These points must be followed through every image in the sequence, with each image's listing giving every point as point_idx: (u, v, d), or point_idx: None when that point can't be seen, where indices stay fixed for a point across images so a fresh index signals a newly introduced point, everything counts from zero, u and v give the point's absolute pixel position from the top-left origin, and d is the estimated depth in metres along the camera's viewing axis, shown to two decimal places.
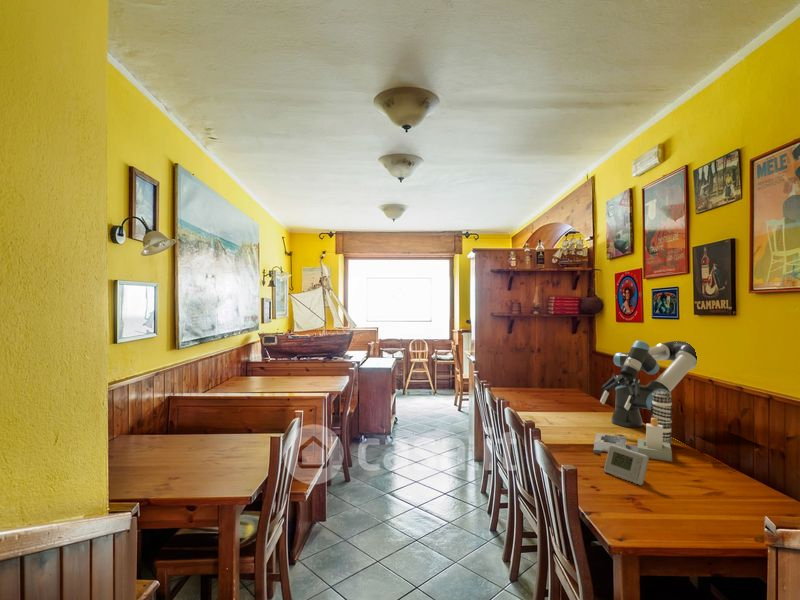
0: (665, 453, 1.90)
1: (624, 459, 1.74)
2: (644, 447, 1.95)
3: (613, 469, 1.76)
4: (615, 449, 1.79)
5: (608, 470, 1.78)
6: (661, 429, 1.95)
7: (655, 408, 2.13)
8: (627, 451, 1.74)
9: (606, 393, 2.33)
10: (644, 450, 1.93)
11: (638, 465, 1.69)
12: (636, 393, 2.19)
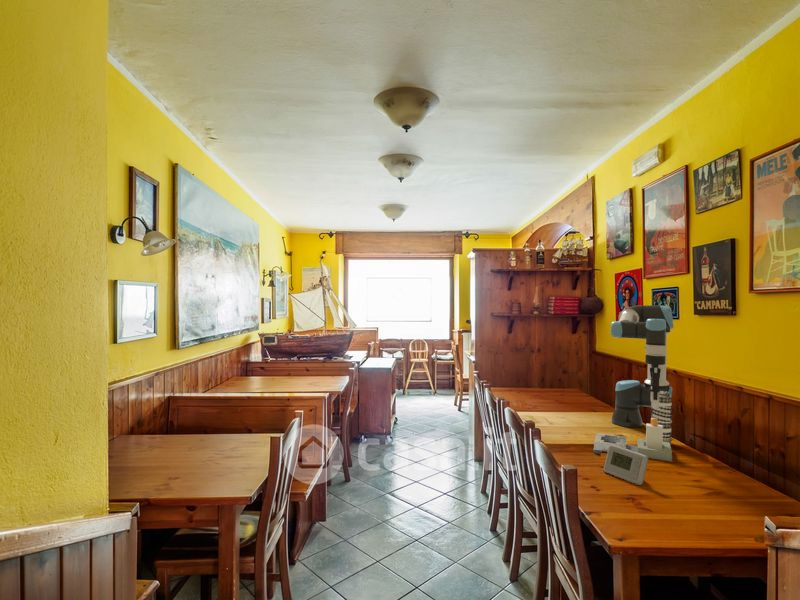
0: (665, 453, 1.90)
1: (624, 459, 1.74)
2: (644, 447, 1.95)
3: (613, 469, 1.76)
4: (614, 449, 1.79)
5: (608, 470, 1.78)
6: (661, 429, 1.95)
7: (655, 408, 2.13)
8: (627, 451, 1.74)
9: None
10: (644, 450, 1.93)
11: (637, 465, 1.69)
12: (652, 388, 1.91)
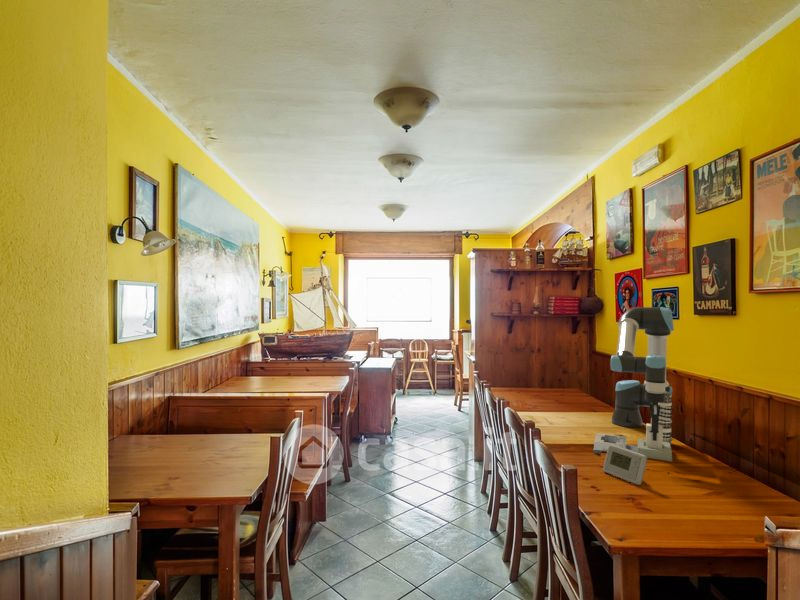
0: (665, 453, 1.90)
1: (623, 459, 1.74)
2: (644, 447, 1.95)
3: (612, 469, 1.76)
4: (614, 449, 1.79)
5: (607, 470, 1.78)
6: (661, 429, 1.95)
7: None
8: (626, 451, 1.74)
9: None
10: (644, 450, 1.93)
11: (636, 465, 1.69)
12: (651, 429, 1.94)
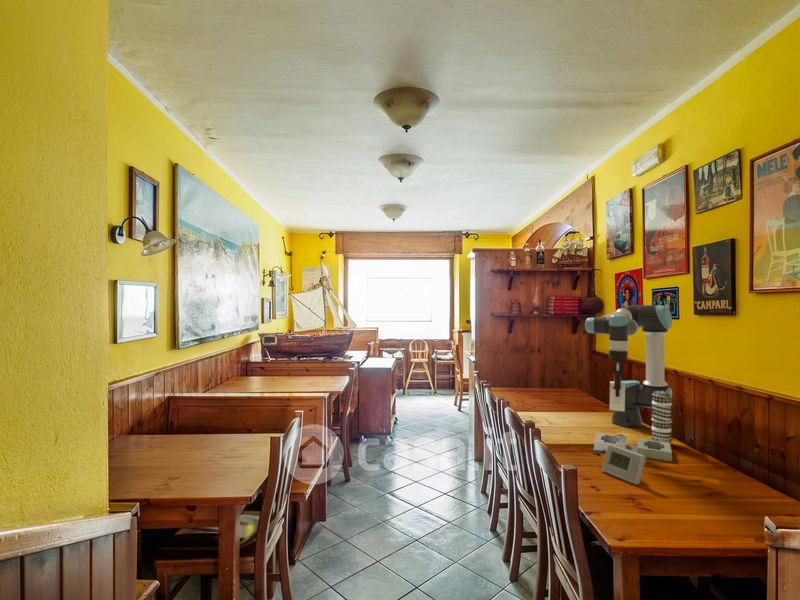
0: (665, 453, 1.90)
1: (622, 458, 1.75)
2: (644, 447, 1.95)
3: (611, 469, 1.77)
4: (613, 449, 1.79)
5: (606, 470, 1.78)
6: (624, 385, 2.02)
7: (655, 408, 2.13)
8: (625, 451, 1.75)
9: None
10: (644, 450, 1.93)
11: (635, 465, 1.69)
12: (614, 385, 2.01)
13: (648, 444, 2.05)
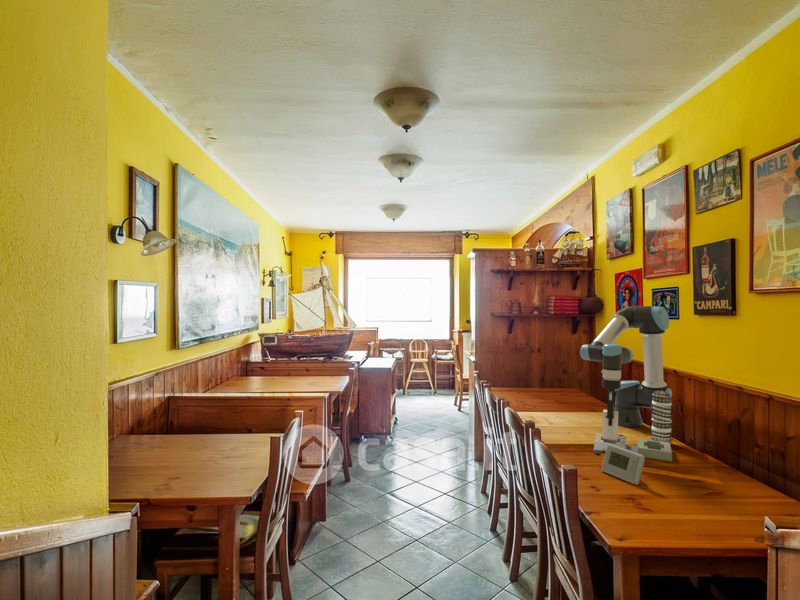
0: (665, 453, 1.90)
1: (621, 458, 1.75)
2: (644, 447, 1.95)
3: (610, 468, 1.77)
4: (612, 449, 1.79)
5: (605, 469, 1.78)
6: (616, 415, 2.03)
7: (655, 408, 2.13)
8: (624, 451, 1.75)
9: None
10: (644, 450, 1.93)
11: (634, 465, 1.69)
12: (607, 414, 2.02)
13: (648, 444, 2.05)
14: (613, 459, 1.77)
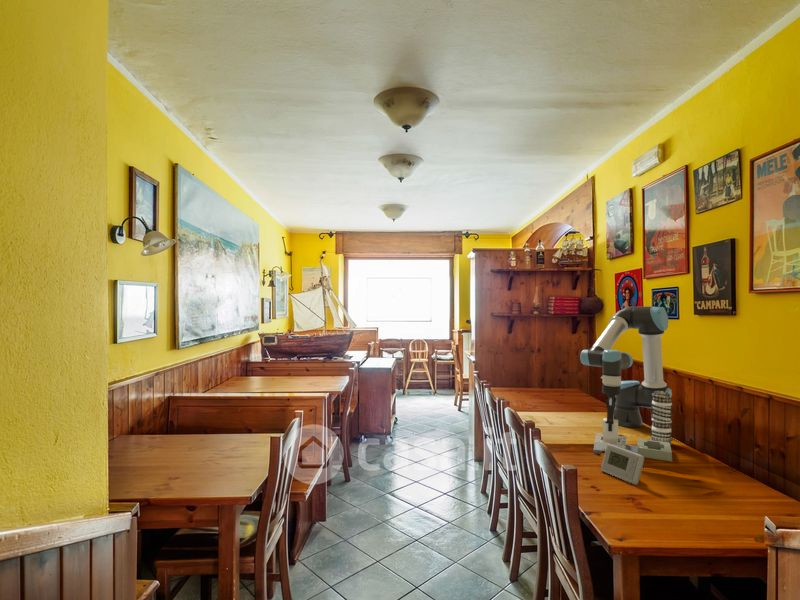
0: (665, 453, 1.90)
1: (621, 458, 1.75)
2: (644, 447, 1.95)
3: (609, 468, 1.77)
4: (612, 448, 1.79)
5: (605, 469, 1.78)
6: (616, 423, 2.03)
7: (655, 408, 2.13)
8: (623, 451, 1.75)
9: None
10: (644, 450, 1.93)
11: (633, 465, 1.69)
12: (607, 420, 2.00)
13: (648, 444, 2.05)
14: (612, 459, 1.77)
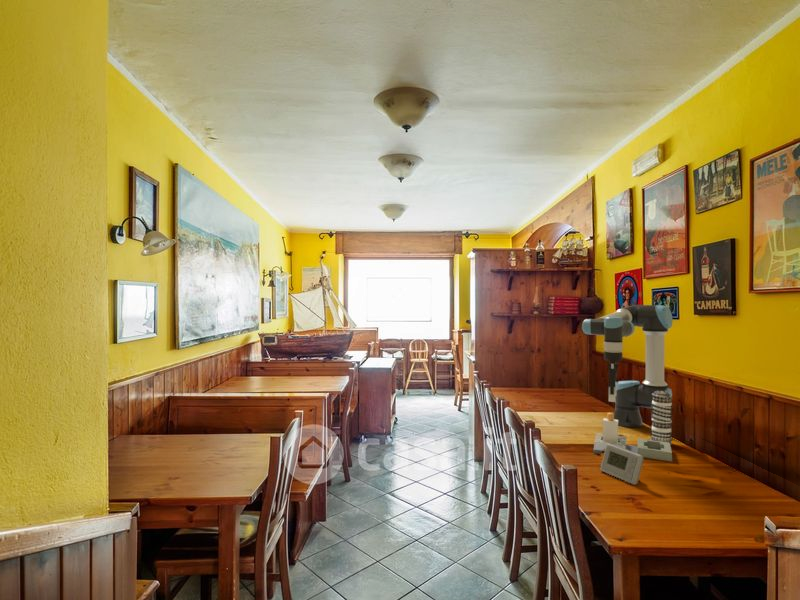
0: (665, 453, 1.90)
1: (620, 458, 1.75)
2: (644, 447, 1.95)
3: (609, 468, 1.77)
4: (611, 448, 1.79)
5: (604, 469, 1.79)
6: (616, 423, 2.03)
7: (655, 408, 2.13)
8: (623, 451, 1.75)
9: None
10: (644, 450, 1.93)
11: (632, 465, 1.69)
12: None
13: (648, 444, 2.05)
14: (612, 459, 1.77)
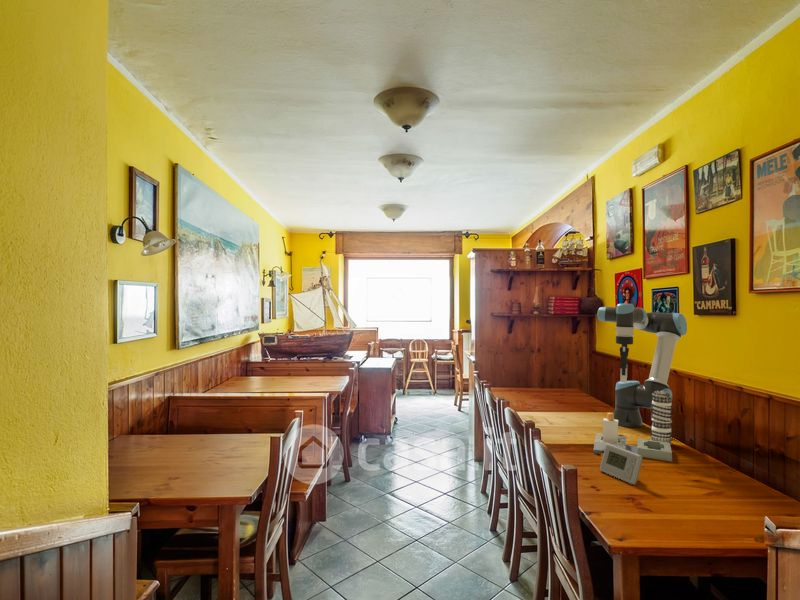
0: (665, 453, 1.90)
1: (619, 458, 1.75)
2: (644, 447, 1.95)
3: (608, 468, 1.77)
4: (610, 448, 1.79)
5: (603, 469, 1.79)
6: (616, 423, 2.03)
7: (655, 408, 2.13)
8: (622, 450, 1.75)
9: None
10: (644, 450, 1.93)
11: (632, 465, 1.69)
12: None
13: (648, 444, 2.05)
14: (611, 459, 1.77)
